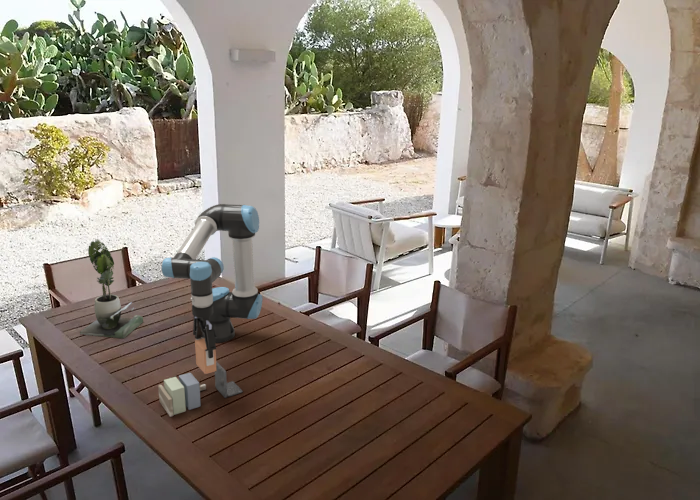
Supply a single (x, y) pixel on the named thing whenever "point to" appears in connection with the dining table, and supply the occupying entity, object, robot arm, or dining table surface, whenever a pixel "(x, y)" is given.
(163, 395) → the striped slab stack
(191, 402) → the book slate
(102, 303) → the potted plant
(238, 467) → the dining table surface
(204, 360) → the book rust
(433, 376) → the dining table surface
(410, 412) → the dining table surface
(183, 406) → the book sage
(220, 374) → the bookend
